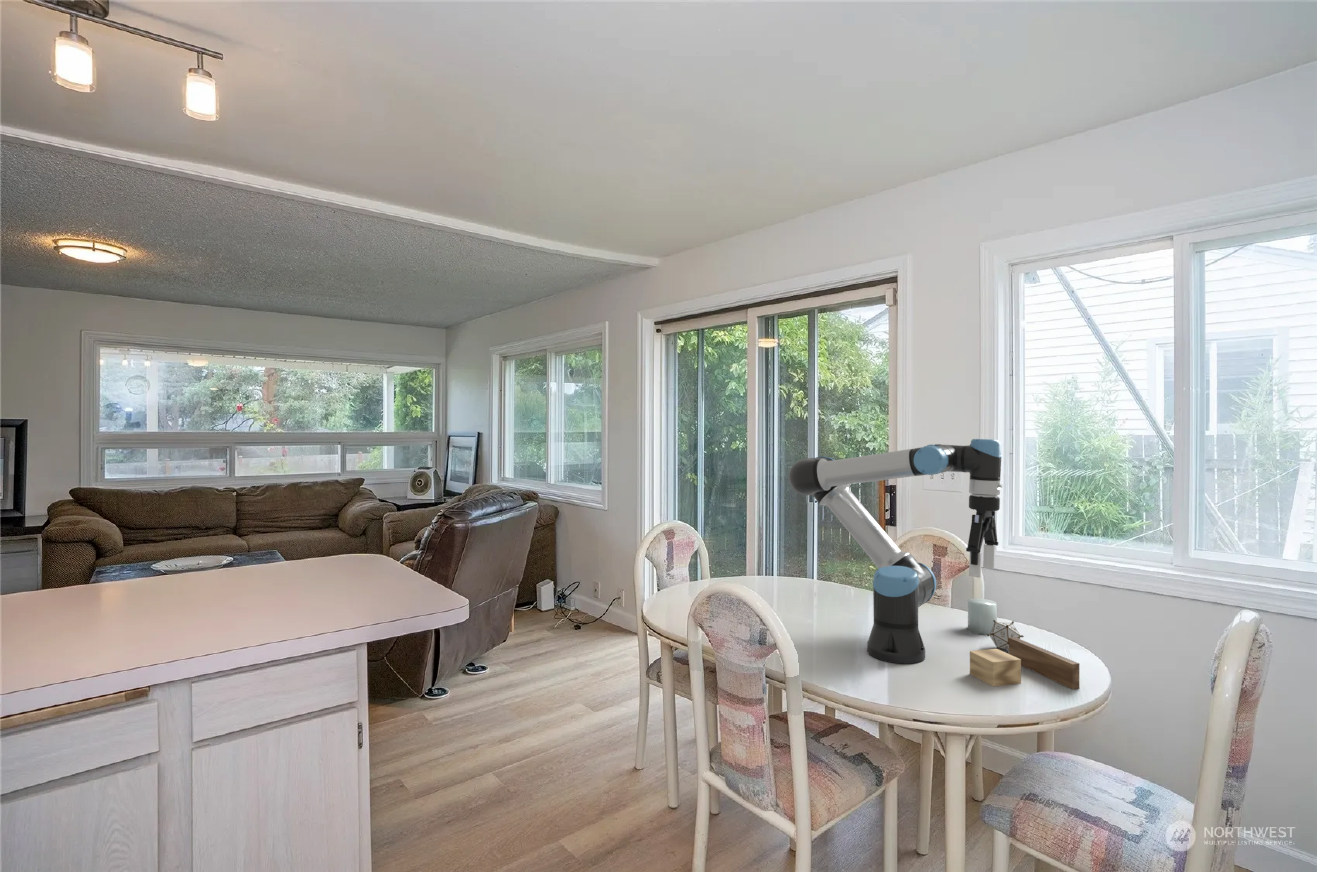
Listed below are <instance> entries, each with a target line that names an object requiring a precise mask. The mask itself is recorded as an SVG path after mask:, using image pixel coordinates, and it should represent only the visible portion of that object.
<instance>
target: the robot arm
mask: <svg viewBox="0 0 1317 872" xmlns="http://www.w3.org/2000/svg"><path fill="white" fill-rule="evenodd" d="M1002 458H1003V455H1002V443H1001V441H1000V440H999V439H994V438H993V439H992V438H991V439H989V438H973V439H971V441H970V444H969V445H956V444H941V443H935V444H927V445H924V446H922V447H917V448H915V447H914V448H908V449H902V450H895V451H888V452H883V453H882V452H881V453H875V454H868V455H861V456H855V457H848V458H842V459H833V458H831V457H828V456H817V457H809V458H807V457H806V458H801V459H799V460H797V461H796V462H794V463H793V464H792V466H791V468H789V469H790V470H789V471H788V472H789V473H788V482H789V484H790V486H791V488H792V489H793V490H794V491H795V492H796V493H798V494H800V495H802V496H813V498H814V499H815V500H816V502H817V503H818V504H819V505H820V506H824V507H828V508H829V511H831V512H832V514H833V515H834V516H835V518H836V519H838V520H839V522H840V523H841V524H842V526H843V527H844V528H845V529H846V530H847V532H848V533H849V534H850V535H851V536H852V538H853V539H854V540H855V542H856V543H857V544H858V545H859V546H860V548H861V549H862V550H863V551H864V553H865V554H866V555H867V556H868V557H869V559H871V561H872V562H873V564H874V565H875V566H876V567H877V570H875V571H874V574H873V580H872V587H873V589H872V591H873V594H872V595H873V624H872V628H871V630H870V633H869V636H868V640H867V642H866V652H867V654H868V655H869V656H870V657H873V658H875V659H878V660H881V661H883V662H884V661H885V662H888V663H895V664H916V663H921V662H923V661H924V660H925V659H926V647H925V643H924V641H923V639H922V636H921V633H920V630H919V608H920V607H922V606H923V605H925V604H927V602H929V601H930V600H931V599H932V598H933V596H934V595H935V592H936V589H937V579H936V576H935V574H934V572H933V571H932V570H931V568H930V567H929V566H927V565H926V564H924V563H922V562H918V561H917V560H916V558H915V557H914V556H913V555H912V554H911V553H910V552H909V551H903V550H901V549H900V547H899V546H898V545H897V544H896V543H895V541H894V540H893V539H892V538H891V537H890V536H889V534H888V533H887V532H886V531H885V530H884V529H883V527H882V526H881V525H880V524H879V523H878V522H877V520H876V519H875V518H874V517H873V516H872V515H871V513H870V512H869V511H868V510H867V508H866V507H865V506H864V505H863V504H862V502H861V501H860V500H859V499H858V497H856V495H855V494H854V493H853V492H852V491H851V489H850V486H851V485H854V484H862V483H869V482H870V483H871V482H879V481H886V480H893V479H901V478H910V477H920V476H928V475H929V476H933V475H939V474H942V473H946V472H950V473H951V472H953V473H954V472H955V473H969V486H968V487H969V488H968V492H969V494H970V495H969V496H968V508H969V509H971V510H975V511H976V512H975V514H972V515H971V523H970V531H969V536H968V540H967V541H968V543H967V547H966V550H965V551H966V552H969V561H968V563H969V565H968V568H969V569H968V576H969V577H974V578H979V579H980V578H981V577H982V576H981V575H982V568H983V569H991V570H994V569H995V559H996V558H995V555H996V554H995V553H996V551H995V550H996V546H999V541H998V535H997V525H996V512H998V511H999V510H1000V504H1001V498H1000V496H999V495H1000V493H1001V489H1002V488H1003V484H1001V473H1002V472H1001V471H1002ZM983 542H984V544H983ZM982 546H983V554H982V552H981V549H982ZM982 555H983V557H982ZM982 558H983V561H982Z"/></svg>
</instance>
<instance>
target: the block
mask: <svg viewBox="0 0 1317 872" xmlns="http://www.w3.org/2000/svg"><path fill="white" fill-rule="evenodd" d="M969 675H971V676H973V677H974V678H977V679H979V680H981V681H983V682H984V683H986V684H987V685H989V686H992V687H1000V686H1008V685H1009V686H1010V685H1018V684H1022V666H1021V659H1019V658H1017V657H1014V656H1012V655H1010V654H1009V652H1008V653H1007V652H1005V651H1003V650H1001V649H1000V648H998V649H996V648H990V649H980V650H979V649H977V650H969Z"/></svg>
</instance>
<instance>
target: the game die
mask: <svg viewBox="0 0 1317 872" xmlns="http://www.w3.org/2000/svg"><path fill="white" fill-rule="evenodd" d="M993 621H994V622H995V623H994V626H993V628H992V630H991V632H990V635H989V634H987V635H986V637H990V639H991V640H992V642H993V643H994V645H995V649H999V650H1001V649H1002V650H1003V649H1004V650H1009V638H1011V637H1016V638H1018V639H1021V638H1024V637H1025V636H1024V635H1023V634H1020V633H1019V631H1018V630H1017V628H1016V627H1015V626H1014V623H1015V622H1014V620H1012V621H1011V622H999V621H997V622H996V621H995V620H993Z"/></svg>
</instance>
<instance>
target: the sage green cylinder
mask: <svg viewBox="0 0 1317 872" xmlns="http://www.w3.org/2000/svg"><path fill="white" fill-rule="evenodd" d="M997 610H998V604H997V602H996V601H994V600H991V599H986V598H978V597H977V598H969V599H968V600H967V631H969V632H971V633H973V634H976V635H977V634H978V635H984V636H987V634H989V635H990V632H991V630H992V628H993V626H994V623H995V622H994V621H993V620H995V621H996V622H998V614H997V613H998V611H997Z"/></svg>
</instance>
